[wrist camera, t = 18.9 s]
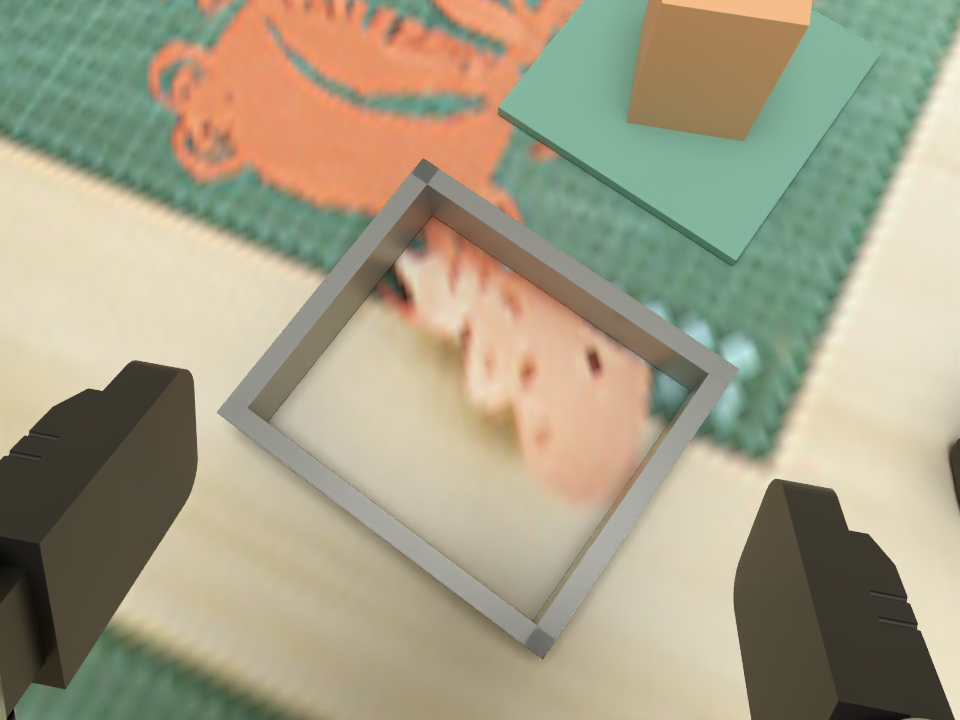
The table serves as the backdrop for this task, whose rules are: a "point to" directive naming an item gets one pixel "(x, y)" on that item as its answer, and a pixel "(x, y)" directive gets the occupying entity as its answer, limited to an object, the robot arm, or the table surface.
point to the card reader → (956, 464)
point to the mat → (675, 154)
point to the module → (712, 62)
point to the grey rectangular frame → (552, 274)
